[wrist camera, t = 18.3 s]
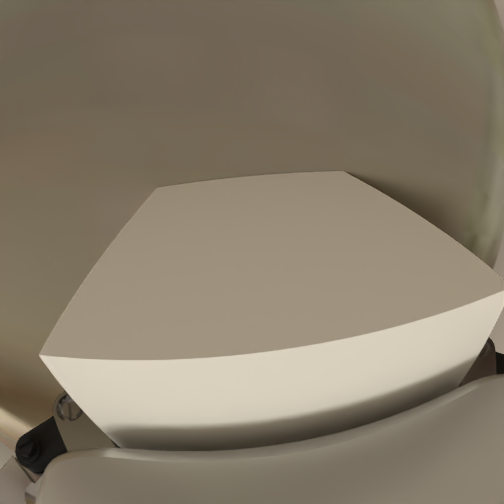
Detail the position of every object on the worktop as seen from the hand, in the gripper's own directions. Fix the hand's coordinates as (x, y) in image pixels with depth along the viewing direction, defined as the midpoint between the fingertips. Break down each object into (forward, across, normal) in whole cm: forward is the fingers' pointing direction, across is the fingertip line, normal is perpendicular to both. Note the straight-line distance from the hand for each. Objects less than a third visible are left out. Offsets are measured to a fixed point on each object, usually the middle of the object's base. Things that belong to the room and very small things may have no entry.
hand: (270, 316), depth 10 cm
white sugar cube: (+3, 0, 0) cm, 3 cm away
